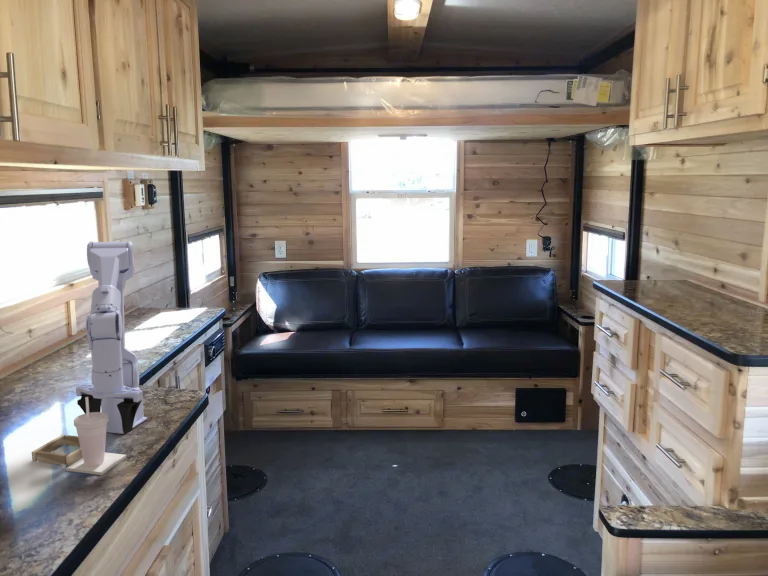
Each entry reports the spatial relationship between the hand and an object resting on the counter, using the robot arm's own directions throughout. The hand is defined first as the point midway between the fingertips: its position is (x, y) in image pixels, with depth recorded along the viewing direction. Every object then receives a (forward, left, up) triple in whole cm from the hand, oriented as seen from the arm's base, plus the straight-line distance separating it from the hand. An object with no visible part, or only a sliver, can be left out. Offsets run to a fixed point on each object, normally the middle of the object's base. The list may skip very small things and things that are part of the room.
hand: (111, 430), depth 131 cm
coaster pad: (+5, 0, -5) cm, 7 cm away
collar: (+3, -9, -5) cm, 11 cm away
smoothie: (+6, 0, -5) cm, 8 cm away
